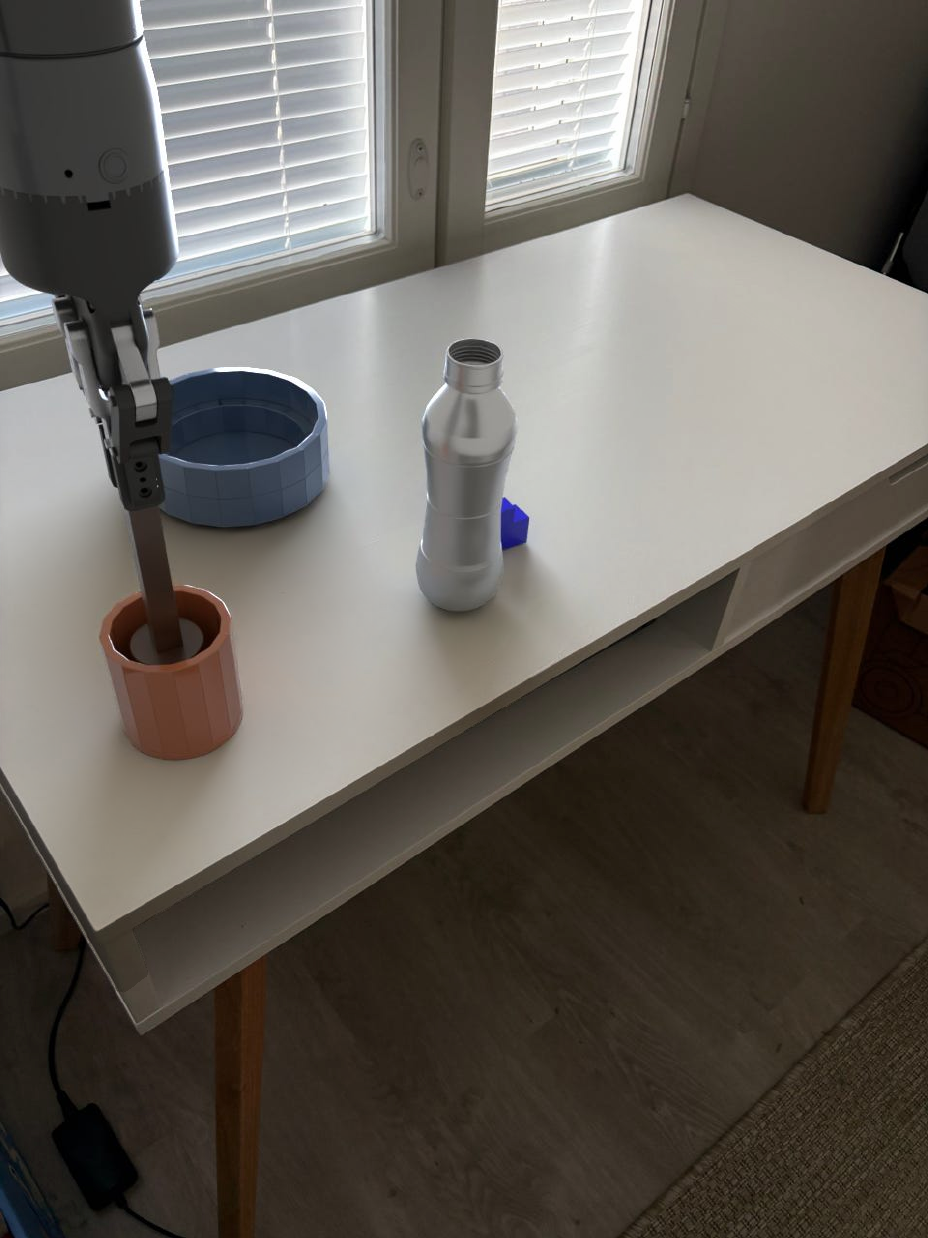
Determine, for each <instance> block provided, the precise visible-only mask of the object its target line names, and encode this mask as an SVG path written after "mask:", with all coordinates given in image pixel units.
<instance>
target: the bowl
mask: <svg viewBox="0 0 928 1238" xmlns="http://www.w3.org/2000/svg"><path fill="white" fill-rule="evenodd" d="M169 382H170V384H172V385H173V388H174V393H175V395H173V397H174V405H173V418H172V432H171V445H170V453H166V454H161V455H160V454H158V456H159V461H160V467H161V473H162V479H163V485H164V491H165V500H164V502H163V503H161V504H160V505H159V510H161V511H163V512H164V513H166V514H167V515H168V516H171V517H173V518H176V519H179V520H182V521H185V522H188V523H190V524H194V525H199V526H200V525H202V526H208V527H217V528H234V527H248V526H249V527H250V526H258V525H260V524H265V523H268V522H272V521H275V520H279V519H283V518H285V517H287V516H289V515H291V514H293V513H295V512H297V511H298V510H301V509H302V508H304V507H306V506H308V505H309V504H310V503H311V502H312V501H313V500H314V499H315V498H316V497H317V496H318V495H319V494H320V493H322V491H323V490H324V487H325V486H326V482H327V480H328V478H329V475H330V455H329V434H328V433H329V431H328V417H327V409H326V404H325V402H324V400H322V398H321V397H320V395H319V394H318V393H317V392H316V391H315V389H314V388H312V387H311V386H309V385H308V384H306V383H304V382H303V381H301V380H299V379H298V378H296V377H293V376H290V375H287V374H285V373H284V374H283V373H280V372H277V371H274V370H270V369H263V368H254V367H245V366H244V367H243V366H237V367H236V366H235V367H215V368H208V369H203V370H199V371H193V372H188V373H184V374H183V375H179V376H177V377H175V378H172V379H169Z"/></svg>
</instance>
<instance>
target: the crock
mask: <svg viewBox="0 0 928 1238" xmlns="http://www.w3.org/2000/svg"><path fill="white" fill-rule="evenodd" d="M173 589H174V595H175V600H176V606H177V611H178V617H180V618H185V619H188V620H190V621H192V622H194V623H195V624H197V625H198V626H199V627H200V629H201V630H202V632H203V635H204V641H205V650H204V651H202V652H201V653H199V654H198V655H196V656H195V657H193V658H191V659H188V660H184V661H181V662H178V663H175V664H171V665H145V664H141V663H138V662H134V661H132V657H131V653H130V647H129V645H130V640H131V638H132V636H133V634H134V633H135V632H136V630H137V629H139V628H140V627H141V626H142V625H144V624H146V623H147V619H146V614H145V609H144V604H143V600H142V595H141V590H139V591H136V592H133V593H132V594H130V595H128V596H127V597H125V598H124V599H122V600H120V601H118V602H117V603H116V604H115V605H113V607H112V608H111V610H109V612H108V613H107V614H106V616H105V617H103V620H102V621H101V627H100V631H99V635H98V640H99V644H100V648H101V651H102V655H103V659H104V663H105V666H106V670H107V674H108V677H109V682H110V685H111V689H112V692H113V696H114V700H115V705H116V707H117V712H118V715H119V719H120V722H121V724H122V728H123V730H124V734H125V735H126V738H127V740H128V741H129V742H130V744H131V745H132V746H133V747H134V748H136V749H137V750H138V751H140V752H141V753H143V754H145V755H147V756H150V757H153V758H156V759H161V760H168V761H179V760H188V759H193V758H197V757H201V756H203V755H205V754H208V753H211V752H212V751H214V750H216V749H218V748H219V747H221V746H222V745H224V744H225V743H226V742H227V741H229V739H230V738H231V737H232V736H233V735H234V734H235V733H236V731H237V729H238V728H239V725H241V721H242V718H243V712H244V707H243V694H242V693H243V692H242V683H241V678H240V670H239V663H238V657H237V648H236V641H235V634H234V627H233V626H234V625H233V620H232V619H233V618H232V614H231V613H230V611H229V609H228V607H227V605H226V603H225V602H224V601H223V600H222V599H220V598H219V597H217V596H216V595H215V594H213V593H212V592H210V590H206V589H203V588H199V587H196V586H191V585H188V584H173Z"/></svg>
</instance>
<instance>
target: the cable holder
mask: <svg viewBox="0 0 928 1238" xmlns="http://www.w3.org/2000/svg"><path fill="white" fill-rule="evenodd" d="M529 525H530V516H529V515H528V514H527V513H525V511H524V510H522V509H521V507H520V506H519V505H518V504H516V503H514V504H513V503H511V501H510V500H508V498H507V497H505V496H503V498H502V504H501V546H502V551H505V550H508V549H511V548H514V547H518V546H520V545H524V544H525V543H526V544H527V540H528V533H529Z"/></svg>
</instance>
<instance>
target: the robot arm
mask: <svg viewBox="0 0 928 1238" xmlns="http://www.w3.org/2000/svg"><path fill="white" fill-rule="evenodd" d="M140 5H141V4H140V0H0V258H1V263H2V265H3V267H4V269H5V270H6V272H7V273H8V274H9V275H10V276H11V277H12V278H13V279H14V280H15V281H16V282H18V283H20V284H21V285H23V286H25V287H26V288H28V289H31V290H34V291H36V292H40V293H42V294H46V295H47V294H48V295H52V296H54V298H51V299H50V301H51V307H52V312H53V317H54V320H55V323H56V325H57V327H58V329H59V331H60V333H61V335H62V337H63V338H64V341H65V345H66V350H67V354H68V360H69V363H70V368H71V372H72V374H73V376H74V378H75V380H76V382H77V385H78V387H79V390H80V391H82V392H83V395H84V397H85V401H86V402H87V404H88V406H89V407H88V413H89V416H90V418H91V419H93V421H94V423H95V425H97V426H98V427H97V428H98V431H99V435H100V440H101V444H102V445H101V446H102V449H103V450H102V451H103V455H104V459H105V463H106V468H107V473H108V477H109V480H110V481H111V484H112V486H113V488H116V489H117V492H118V497H119V500H120V502H121V505H122V507H123V506H124V508H125V509H126V510H128V511H136V510H140V509H145V508H149V507H153V506H157V505H160V504H161V503H163V502H164V500H165V491H164V485H163V479H162V473H161V467H160V461H159V456H158V454H160V455H161V454H166V453H170V445H171V432H172V418H173V405H174V397H173V395H175V393H174V388H173V385H172V384H170V382H169V381H170V379H169V378H168V376H161V372H160V365H159V359H158V350H159V349H160V346H161V339H160V334H159V327H158V321H157V319H156V316H155V313H154V311H153V309H152V308H151V307H150V308H144V306H143V300H142V296H141V294H142V292H143V291H144V290H145V289H146V288H148V287H149V286H150V285H151V284H153V283H154V282H156V281H159V280H161V279H163V278H164V277H165V276H167V275H168V274H169V273H170V272H171V271H172V270H173V268H174V267H175V265H176V263H177V261H178V258H179V252H180V251H179V249H180V248H179V242H178V241H179V240H178V234H177V225H176V218H175V211H174V210H175V209H174V203H173V195H172V188H171V182H170V181H171V180H170V173H169V165H168V159H167V151H166V145H165V138H164V137H165V136H164V128H163V122H162V114H161V107H160V101H159V95H158V89H157V86H156V82H155V81H156V80H155V77H154V73H153V70H152V67H151V62H150V58H149V55H148V51H147V46H146V41H145V34H144V33H143V32H144V27H143V19H142V14H141V13H142V12H141V6H140ZM124 508H123V509H124Z"/></svg>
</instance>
